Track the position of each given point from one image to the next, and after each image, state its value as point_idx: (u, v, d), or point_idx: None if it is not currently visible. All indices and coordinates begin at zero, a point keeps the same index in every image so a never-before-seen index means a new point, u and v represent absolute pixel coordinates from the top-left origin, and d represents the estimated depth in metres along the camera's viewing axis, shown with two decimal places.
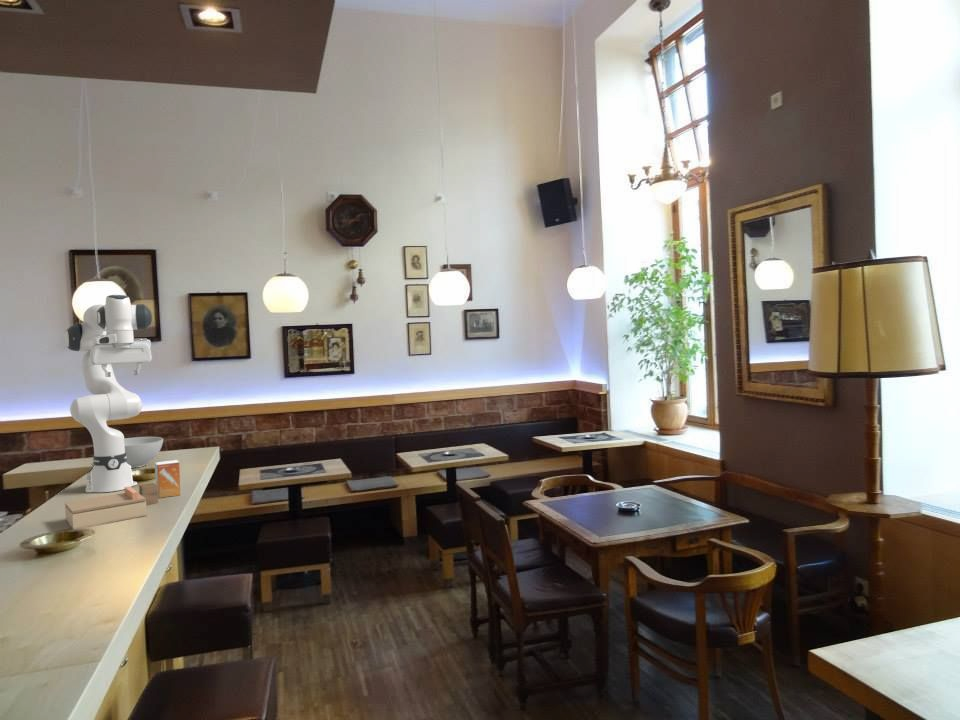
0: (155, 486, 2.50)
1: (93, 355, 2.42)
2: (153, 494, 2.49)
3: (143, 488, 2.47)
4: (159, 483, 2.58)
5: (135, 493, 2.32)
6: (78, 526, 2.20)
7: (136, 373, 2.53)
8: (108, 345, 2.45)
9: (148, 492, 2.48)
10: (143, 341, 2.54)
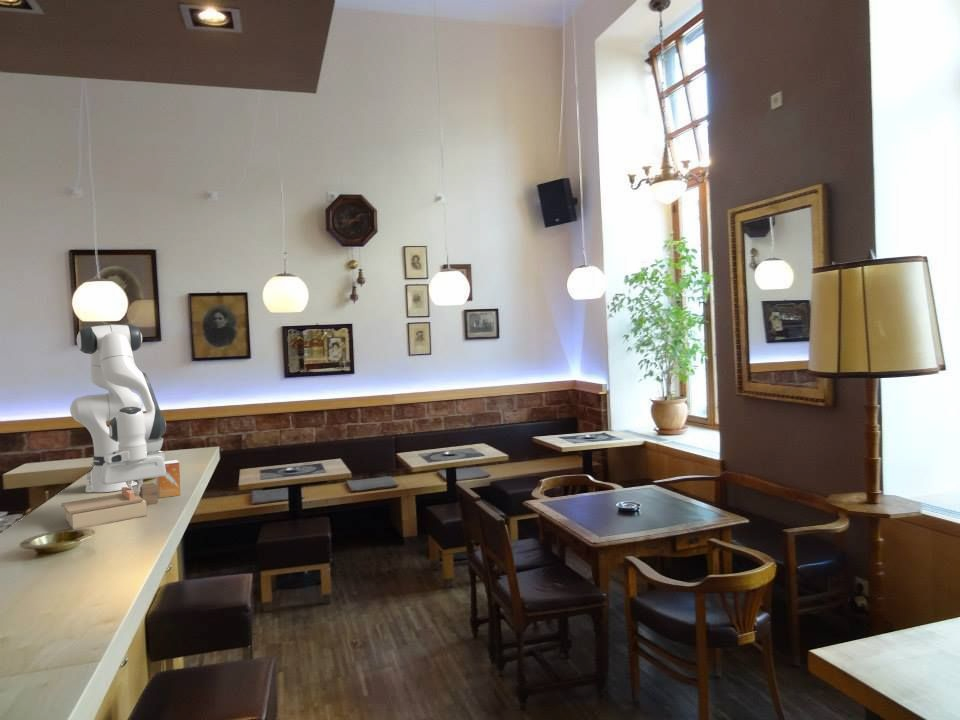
0: (155, 486, 2.50)
1: (105, 475, 2.29)
2: (153, 494, 2.49)
3: (143, 488, 2.47)
4: (159, 483, 2.58)
5: (132, 493, 2.31)
6: (78, 526, 2.20)
7: (137, 491, 2.37)
8: (120, 463, 2.32)
9: (148, 492, 2.48)
10: (157, 454, 2.42)
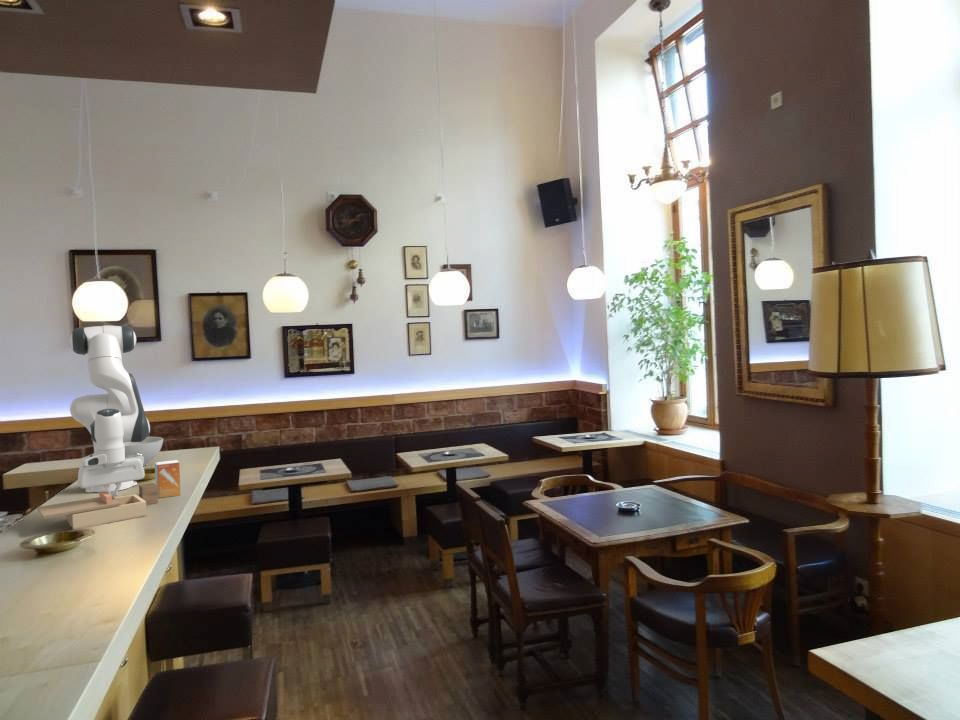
0: (155, 486, 2.50)
1: (81, 478, 2.25)
2: (153, 494, 2.49)
3: (143, 488, 2.47)
4: (159, 483, 2.58)
5: (109, 497, 2.27)
6: (78, 526, 2.20)
7: (115, 494, 2.33)
8: (97, 466, 2.27)
9: (148, 492, 2.48)
10: (135, 457, 2.37)
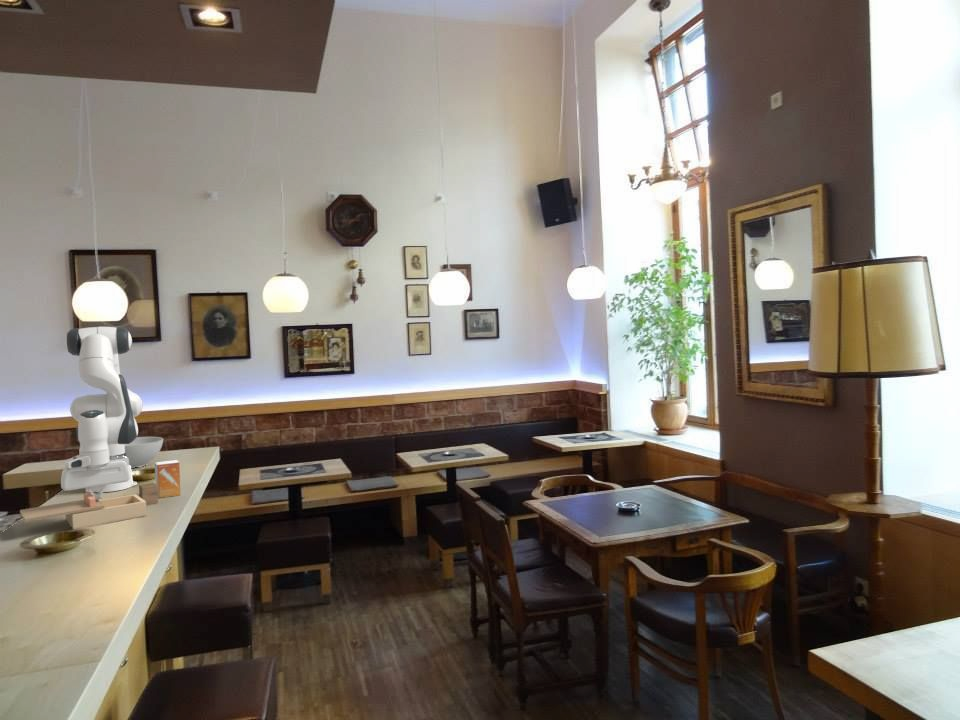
0: (155, 486, 2.50)
1: (64, 481, 2.22)
2: (153, 494, 2.49)
3: (143, 488, 2.47)
4: (159, 483, 2.58)
5: (93, 500, 2.24)
6: (78, 526, 2.20)
7: (99, 497, 2.30)
8: (81, 468, 2.24)
9: (148, 492, 2.48)
10: (120, 459, 2.34)
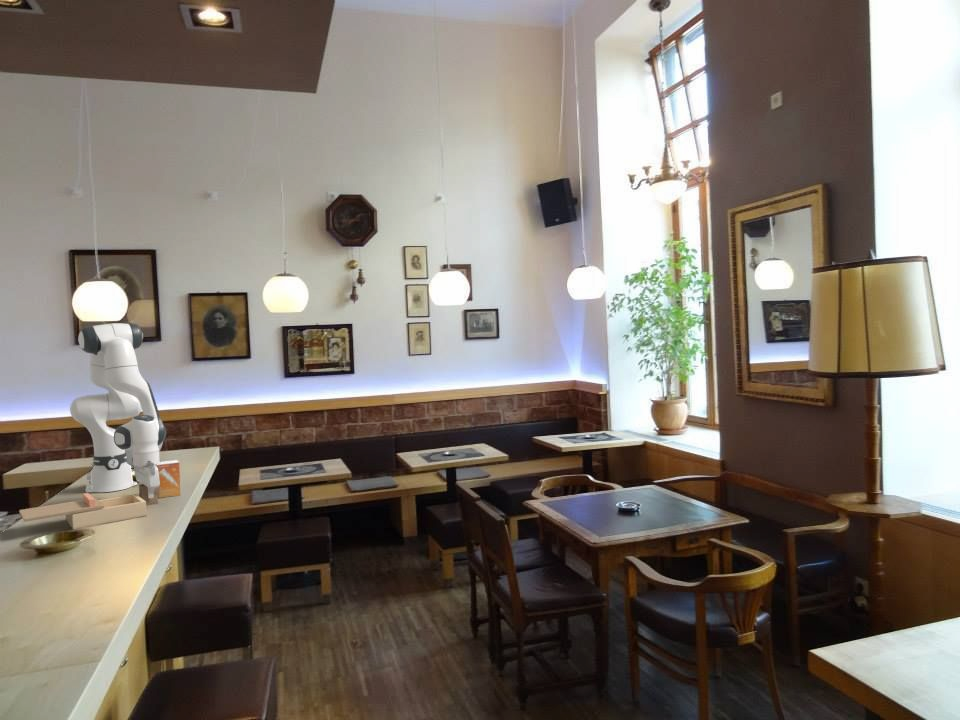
0: None
1: None
2: None
3: (143, 488, 2.47)
4: None
5: (92, 500, 2.24)
6: (78, 526, 2.20)
7: None
8: None
9: None
10: (150, 466, 2.44)
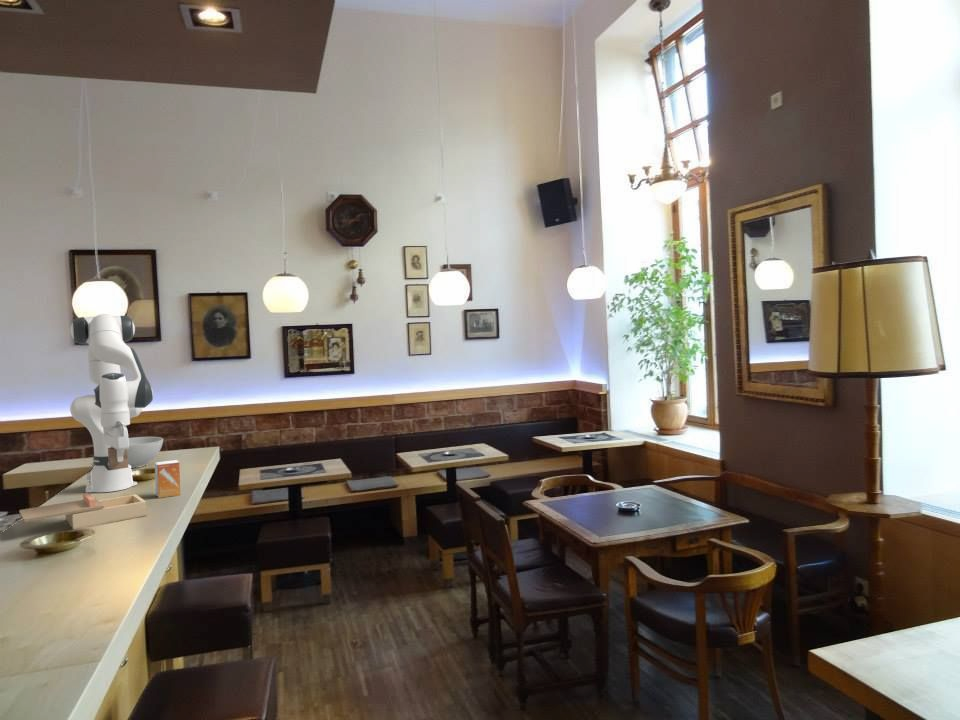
0: None
1: (104, 435, 2.39)
2: None
3: (112, 450, 2.30)
4: (159, 483, 2.58)
5: (92, 500, 2.24)
6: (78, 526, 2.20)
7: (117, 459, 2.31)
8: (104, 427, 2.35)
9: None
10: (119, 426, 2.27)
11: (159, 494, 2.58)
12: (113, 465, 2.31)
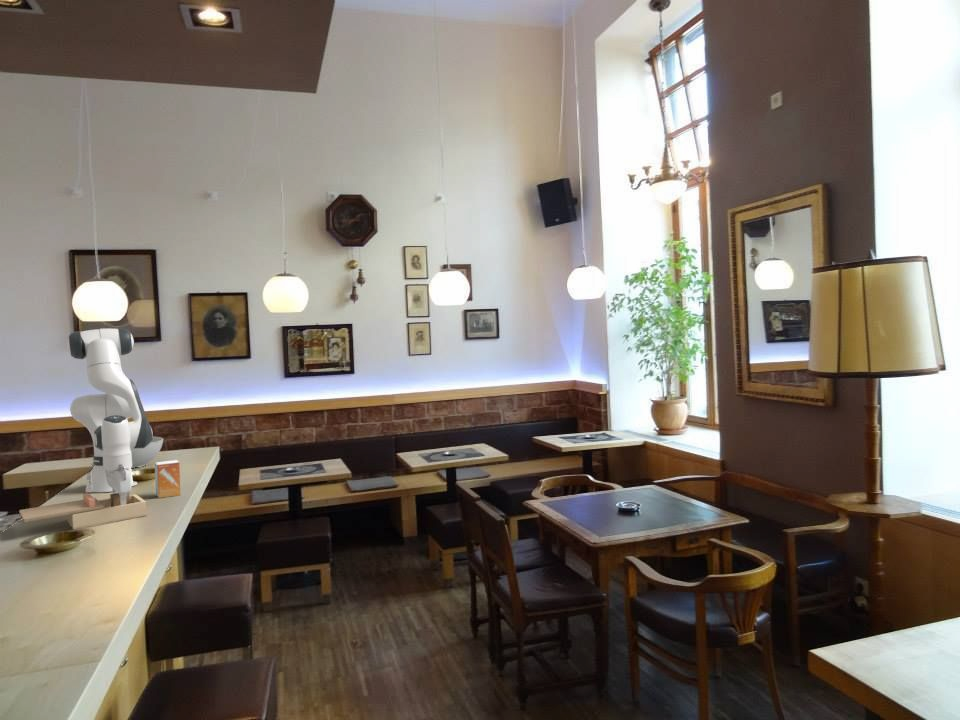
0: (127, 495, 2.34)
1: (106, 476, 2.40)
2: None
3: (114, 498, 2.31)
4: (159, 483, 2.58)
5: (92, 500, 2.24)
6: (78, 526, 2.20)
7: (120, 503, 2.31)
8: None
9: (119, 501, 2.32)
10: (121, 470, 2.28)
11: (159, 494, 2.58)
12: None
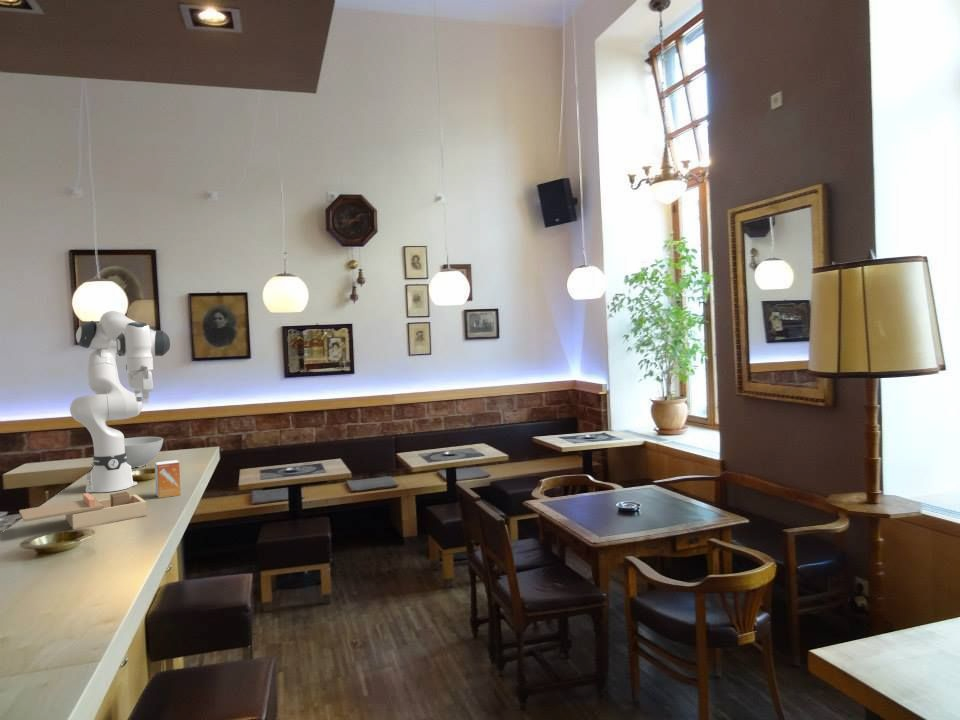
0: (127, 495, 2.34)
1: None
2: None
3: (114, 498, 2.31)
4: (159, 483, 2.58)
5: (92, 500, 2.24)
6: (78, 526, 2.20)
7: (142, 401, 2.50)
8: (129, 371, 2.55)
9: (119, 501, 2.32)
10: (144, 369, 2.47)
11: (159, 494, 2.58)
12: None
